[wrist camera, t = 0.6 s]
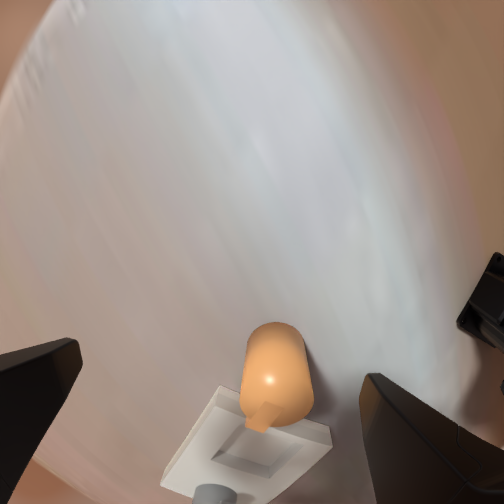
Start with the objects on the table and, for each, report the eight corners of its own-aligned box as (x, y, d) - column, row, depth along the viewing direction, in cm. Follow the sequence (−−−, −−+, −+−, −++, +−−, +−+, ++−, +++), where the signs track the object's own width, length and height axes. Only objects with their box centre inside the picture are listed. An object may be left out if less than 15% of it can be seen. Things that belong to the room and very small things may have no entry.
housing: (328, 426, 23) (339, 479, 17) (252, 498, 26) (249, 540, 20) (219, 384, 22) (206, 440, 16) (165, 468, 25) (150, 511, 20)
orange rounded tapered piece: (315, 336, 21) (328, 389, 15) (281, 383, 22) (284, 440, 16) (263, 312, 21) (261, 361, 15) (233, 362, 22) (222, 417, 16)
